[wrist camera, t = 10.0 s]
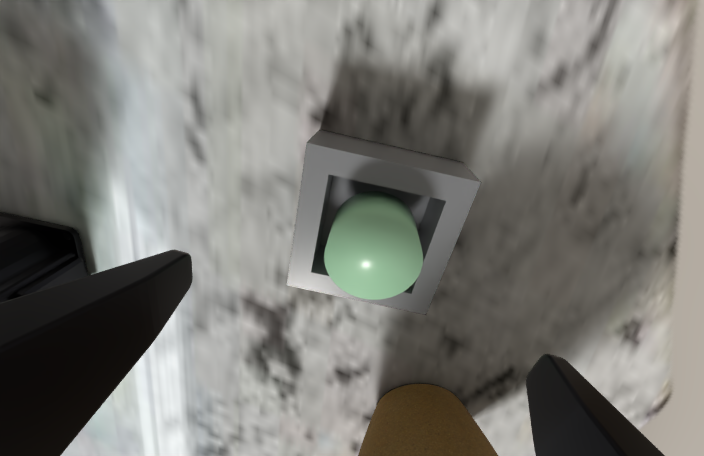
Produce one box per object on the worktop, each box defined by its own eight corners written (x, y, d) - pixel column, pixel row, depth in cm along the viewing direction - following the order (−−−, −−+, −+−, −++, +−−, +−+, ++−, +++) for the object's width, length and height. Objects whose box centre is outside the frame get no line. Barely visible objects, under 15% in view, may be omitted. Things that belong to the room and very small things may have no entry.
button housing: (300, 252, 21) (286, 285, 18) (319, 129, 17) (306, 142, 14) (418, 278, 21) (426, 314, 18) (462, 162, 17) (481, 182, 14)
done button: (326, 255, 18) (317, 288, 15) (341, 182, 16) (333, 205, 13) (402, 272, 18) (407, 308, 15) (426, 201, 16) (436, 228, 13)
